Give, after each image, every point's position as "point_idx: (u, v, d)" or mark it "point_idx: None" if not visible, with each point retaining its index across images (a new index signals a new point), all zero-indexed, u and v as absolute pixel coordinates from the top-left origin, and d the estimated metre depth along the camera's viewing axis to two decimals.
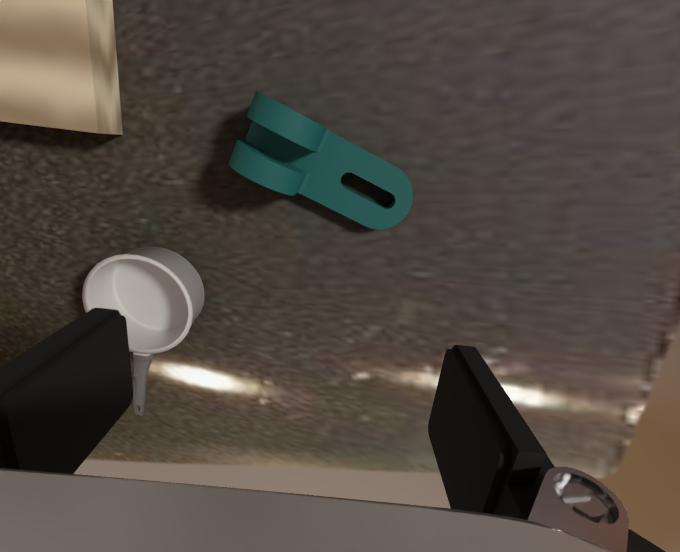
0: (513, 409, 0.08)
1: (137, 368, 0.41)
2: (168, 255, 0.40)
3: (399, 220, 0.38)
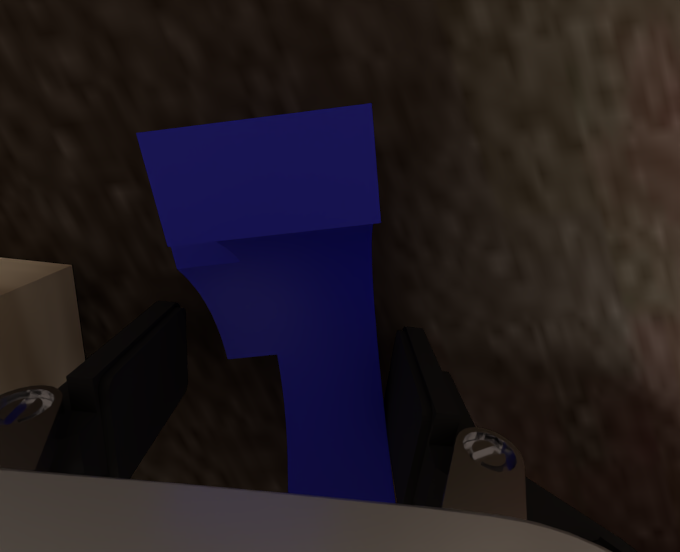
0: (442, 379, 0.08)
1: None
2: None
3: None
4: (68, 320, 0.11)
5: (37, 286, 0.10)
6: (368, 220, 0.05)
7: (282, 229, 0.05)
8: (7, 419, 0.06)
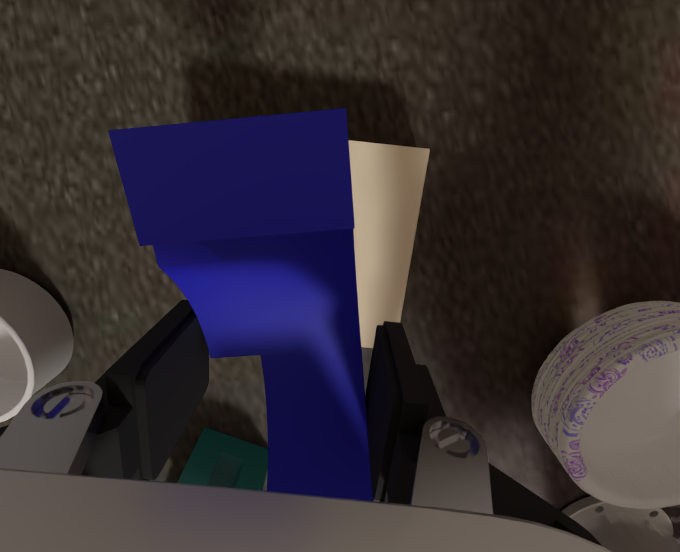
0: (415, 371, 0.08)
1: None
2: (59, 364, 0.29)
3: None
4: None
5: None
6: (342, 225, 0.05)
7: (255, 231, 0.05)
8: (52, 413, 0.07)
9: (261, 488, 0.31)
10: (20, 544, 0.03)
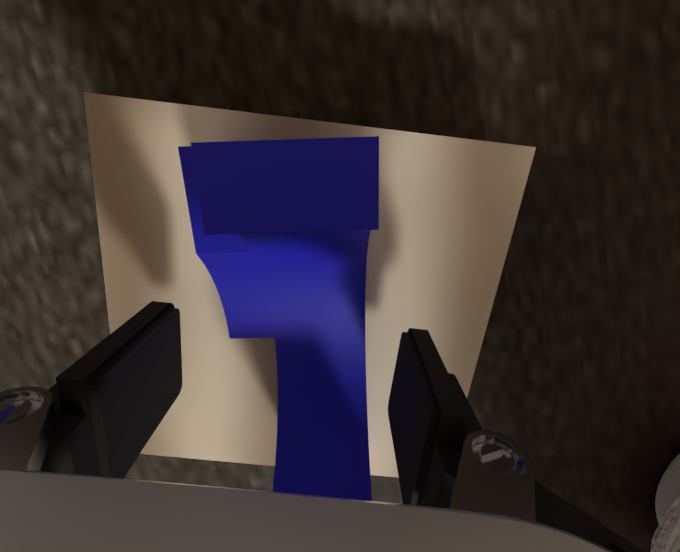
0: (449, 382, 0.08)
1: None
2: None
3: None
4: None
5: None
6: (368, 226, 0.06)
7: (299, 228, 0.06)
8: None
9: None
10: (21, 544, 0.03)
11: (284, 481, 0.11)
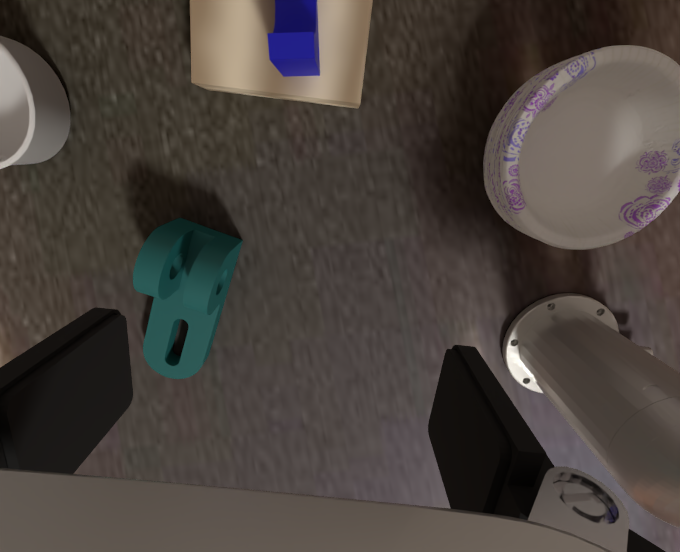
0: (513, 409, 0.08)
1: None
2: (57, 131, 0.33)
3: (157, 371, 0.41)
4: None
5: None
6: None
7: None
8: None
9: (230, 250, 0.34)
10: (20, 544, 0.03)
11: (277, 32, 0.26)
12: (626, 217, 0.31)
